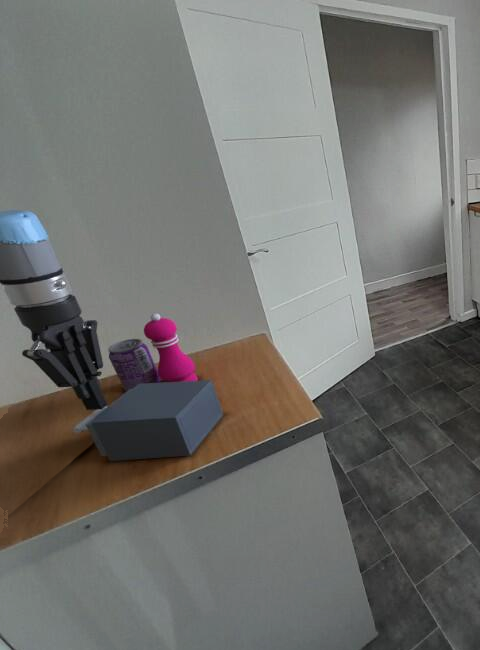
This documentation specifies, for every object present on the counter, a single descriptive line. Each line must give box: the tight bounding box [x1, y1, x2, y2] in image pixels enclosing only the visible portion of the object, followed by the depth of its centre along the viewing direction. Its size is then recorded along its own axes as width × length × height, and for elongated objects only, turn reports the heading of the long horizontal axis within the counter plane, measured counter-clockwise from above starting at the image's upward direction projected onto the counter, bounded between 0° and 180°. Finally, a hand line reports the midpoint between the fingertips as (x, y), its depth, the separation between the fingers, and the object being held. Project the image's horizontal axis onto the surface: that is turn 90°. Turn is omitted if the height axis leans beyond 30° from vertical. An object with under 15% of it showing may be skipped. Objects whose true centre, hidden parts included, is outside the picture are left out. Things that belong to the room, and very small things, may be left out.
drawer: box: [72, 389, 132, 457], centre depth 84 cm, size 18×11×8 cm, turn 97°
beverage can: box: [108, 338, 162, 392], centre depth 100 cm, size 7×7×12 cm
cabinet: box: [91, 379, 224, 462], centre depth 85 cm, size 15×13×10 cm
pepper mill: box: [143, 313, 198, 382], centre depth 100 cm, size 7×7×20 cm
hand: (97, 407), depth 82 cm, fingers closed
